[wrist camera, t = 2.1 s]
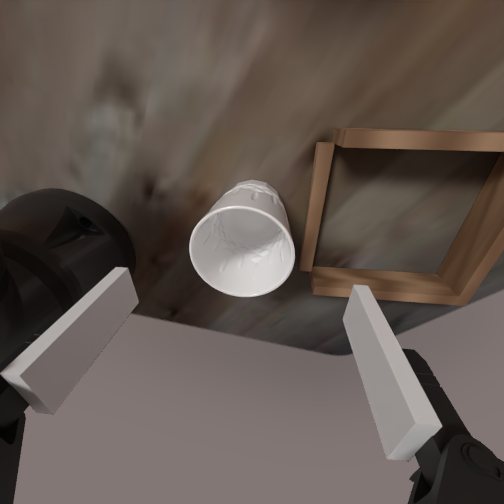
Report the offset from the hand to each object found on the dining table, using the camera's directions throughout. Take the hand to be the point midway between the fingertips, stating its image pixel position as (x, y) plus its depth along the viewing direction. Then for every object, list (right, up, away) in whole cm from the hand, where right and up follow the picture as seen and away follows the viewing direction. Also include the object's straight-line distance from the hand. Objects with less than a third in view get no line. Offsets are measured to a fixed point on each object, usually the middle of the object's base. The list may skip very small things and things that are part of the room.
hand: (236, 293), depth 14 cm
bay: (+16, +6, +11) cm, 20 cm away
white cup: (+1, +7, +12) cm, 14 cm away
